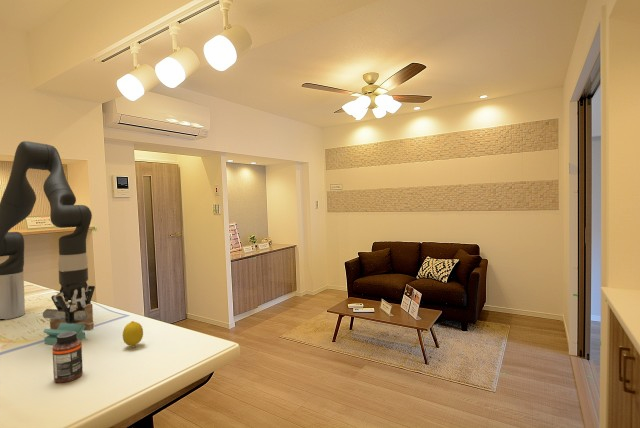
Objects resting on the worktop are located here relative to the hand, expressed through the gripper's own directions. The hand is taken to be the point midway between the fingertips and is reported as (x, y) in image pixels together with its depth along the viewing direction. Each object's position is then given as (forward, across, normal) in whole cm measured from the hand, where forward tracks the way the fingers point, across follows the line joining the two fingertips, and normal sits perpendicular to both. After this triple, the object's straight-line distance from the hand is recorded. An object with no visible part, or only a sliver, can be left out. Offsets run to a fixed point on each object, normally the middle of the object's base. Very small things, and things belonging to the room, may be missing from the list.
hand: (75, 321), depth 108 cm
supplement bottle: (+7, +19, +18) cm, 27 cm away
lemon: (+7, 0, +21) cm, 22 cm away
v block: (+7, 0, -4) cm, 8 cm away
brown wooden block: (+7, -10, -9) cm, 15 cm away
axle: (-2, 0, -4) cm, 4 cm away
